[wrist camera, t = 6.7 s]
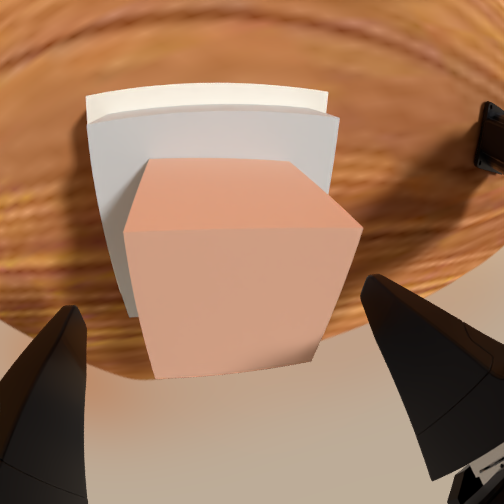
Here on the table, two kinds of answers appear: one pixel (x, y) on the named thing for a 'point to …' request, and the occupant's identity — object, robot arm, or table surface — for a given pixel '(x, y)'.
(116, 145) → the tower top
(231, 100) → the tower base
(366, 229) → the table surface
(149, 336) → the cube
